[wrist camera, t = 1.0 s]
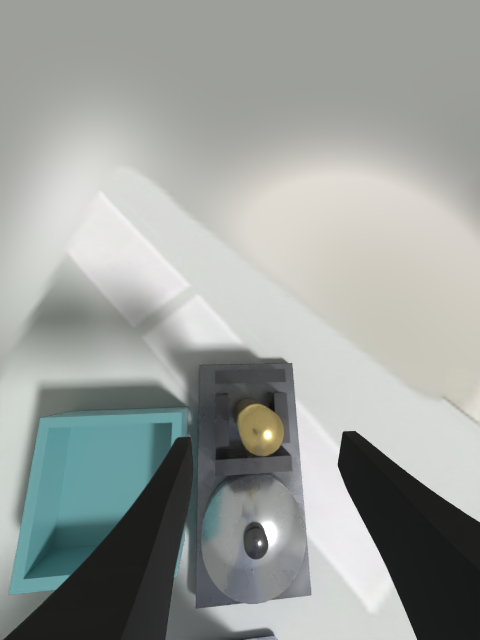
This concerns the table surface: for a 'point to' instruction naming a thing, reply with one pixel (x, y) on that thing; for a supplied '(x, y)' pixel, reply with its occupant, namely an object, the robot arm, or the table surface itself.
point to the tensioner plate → (235, 440)
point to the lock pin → (258, 427)
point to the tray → (87, 486)
